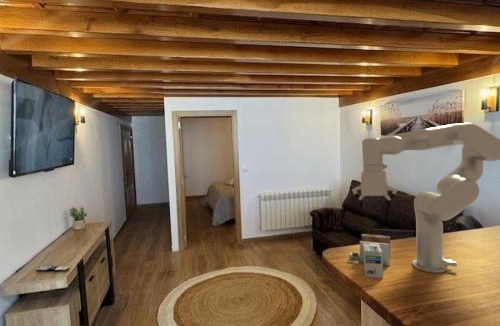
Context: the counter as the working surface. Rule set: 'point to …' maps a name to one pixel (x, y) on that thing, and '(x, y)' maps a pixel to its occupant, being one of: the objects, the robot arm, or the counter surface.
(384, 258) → the plate
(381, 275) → the light bulb box
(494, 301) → the counter surface
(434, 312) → the counter surface
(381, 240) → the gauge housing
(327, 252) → the counter surface
